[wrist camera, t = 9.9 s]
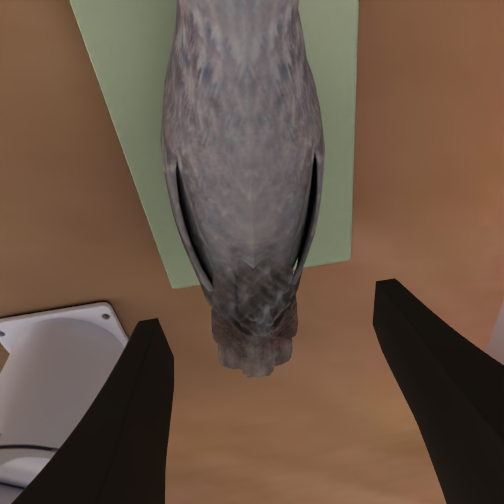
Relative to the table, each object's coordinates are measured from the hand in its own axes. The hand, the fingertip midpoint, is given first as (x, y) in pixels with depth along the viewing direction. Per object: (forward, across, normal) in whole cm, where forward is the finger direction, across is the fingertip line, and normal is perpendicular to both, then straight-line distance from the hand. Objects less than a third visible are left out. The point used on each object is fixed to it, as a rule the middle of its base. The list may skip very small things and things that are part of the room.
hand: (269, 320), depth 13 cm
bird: (+8, 0, -5) cm, 9 cm away
